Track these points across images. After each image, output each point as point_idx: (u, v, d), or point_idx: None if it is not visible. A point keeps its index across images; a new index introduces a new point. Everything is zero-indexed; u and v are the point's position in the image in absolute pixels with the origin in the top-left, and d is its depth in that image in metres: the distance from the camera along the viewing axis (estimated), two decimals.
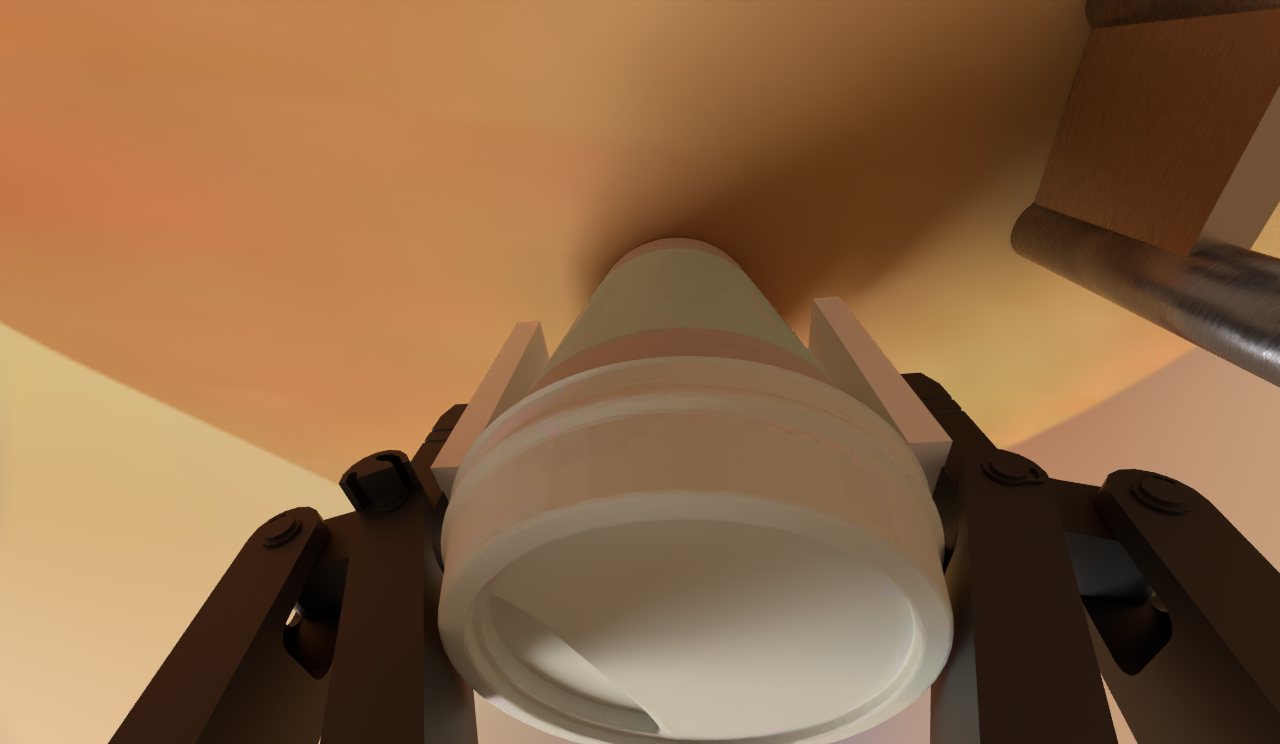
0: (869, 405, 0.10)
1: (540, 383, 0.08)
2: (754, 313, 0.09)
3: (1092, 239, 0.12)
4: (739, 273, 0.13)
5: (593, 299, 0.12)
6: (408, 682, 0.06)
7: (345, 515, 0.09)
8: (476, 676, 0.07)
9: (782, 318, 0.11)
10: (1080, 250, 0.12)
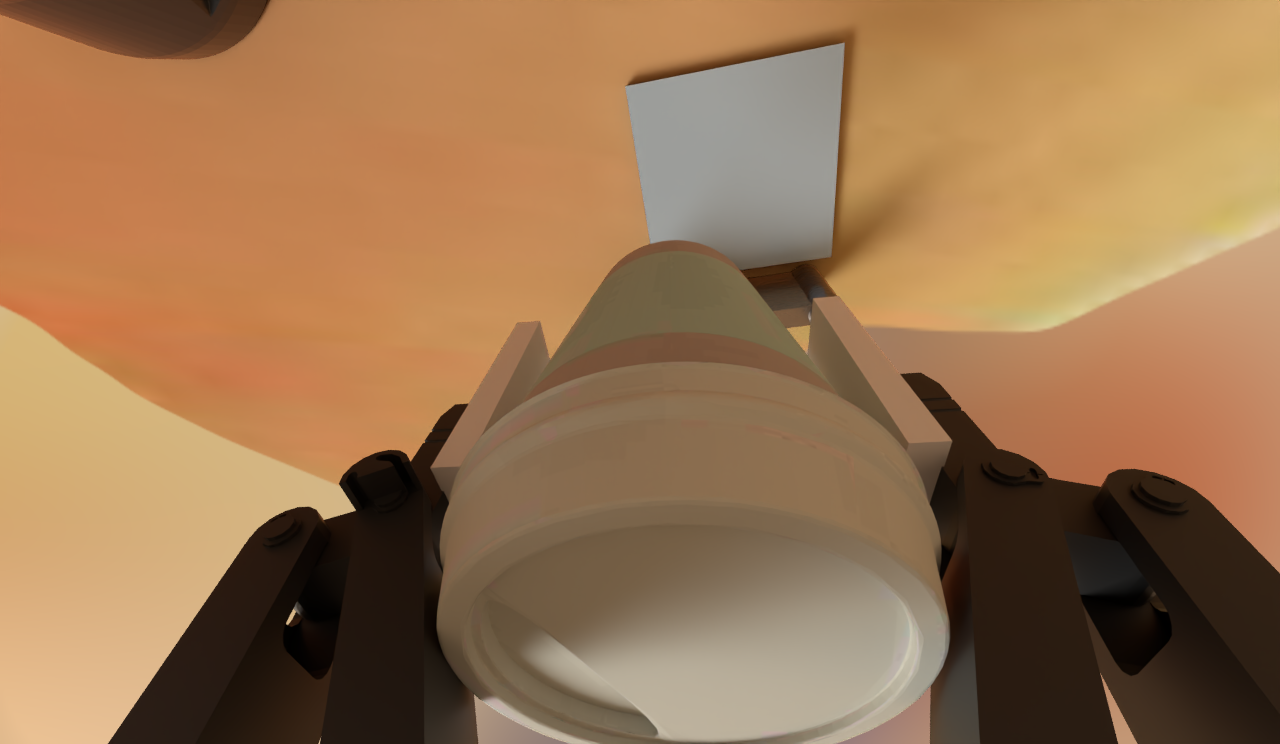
0: (869, 405, 0.10)
1: (539, 387, 0.08)
2: (752, 317, 0.09)
3: None
4: (738, 276, 0.13)
5: (592, 302, 0.12)
6: (408, 682, 0.06)
7: (345, 515, 0.09)
8: (474, 680, 0.07)
9: (780, 321, 0.11)
10: None
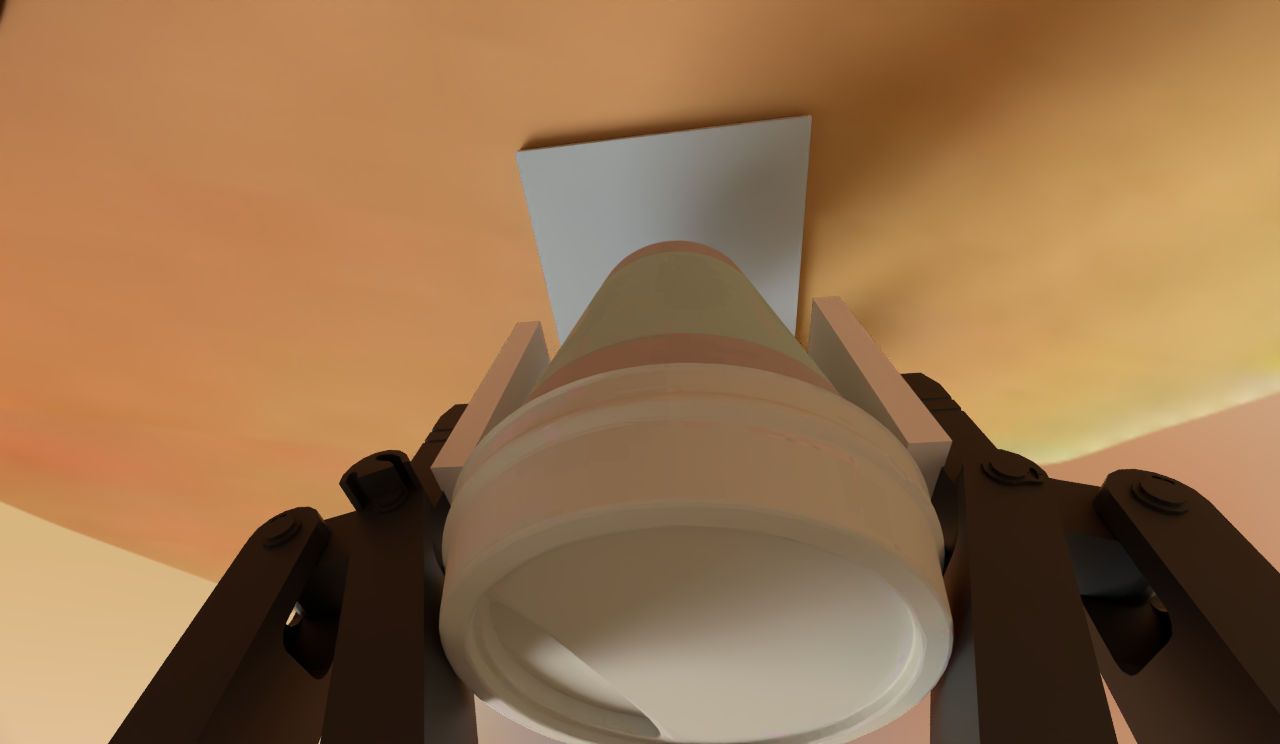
0: (869, 405, 0.10)
1: (541, 388, 0.08)
2: (754, 318, 0.09)
3: None
4: (739, 276, 0.13)
5: (593, 303, 0.12)
6: (408, 683, 0.06)
7: (345, 515, 0.09)
8: (477, 681, 0.07)
9: (782, 322, 0.11)
10: None
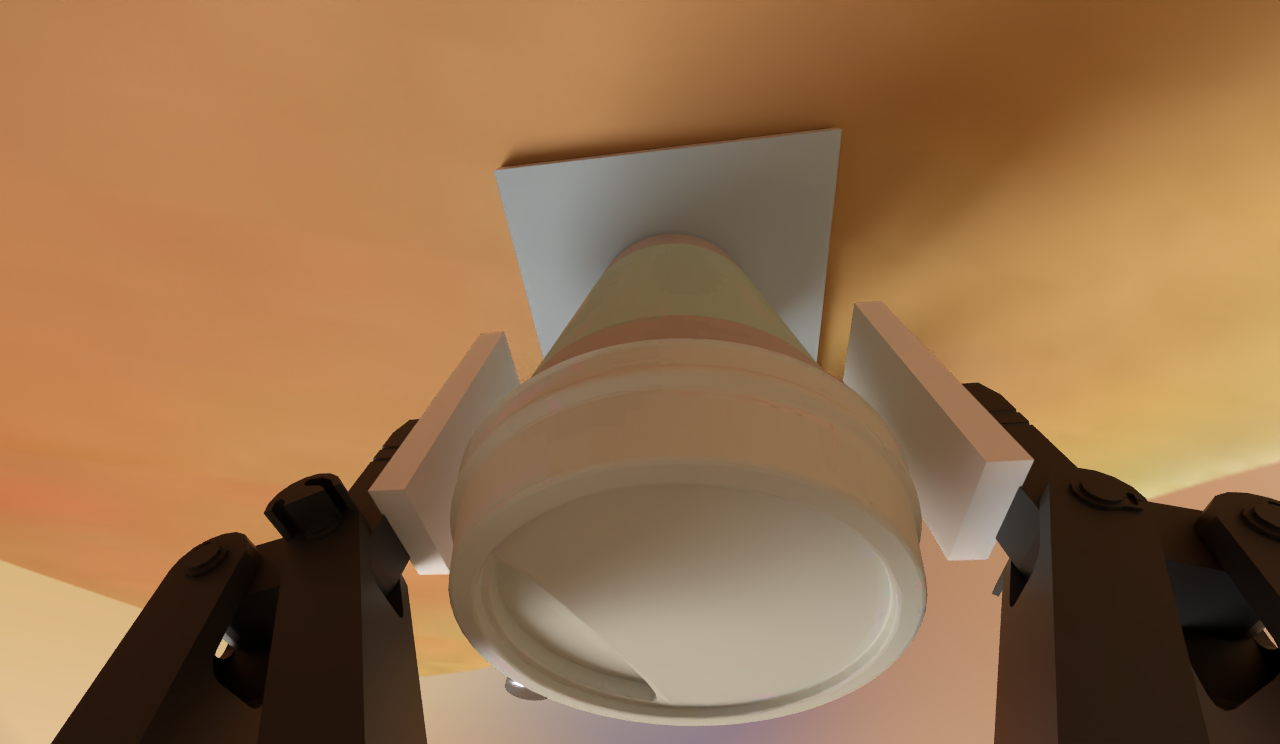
0: (930, 418, 0.10)
1: (543, 368, 0.09)
2: (746, 303, 0.10)
3: None
4: (733, 267, 0.13)
5: (592, 292, 0.13)
6: (347, 708, 0.06)
7: (280, 540, 0.09)
8: (483, 641, 0.08)
9: None
10: None
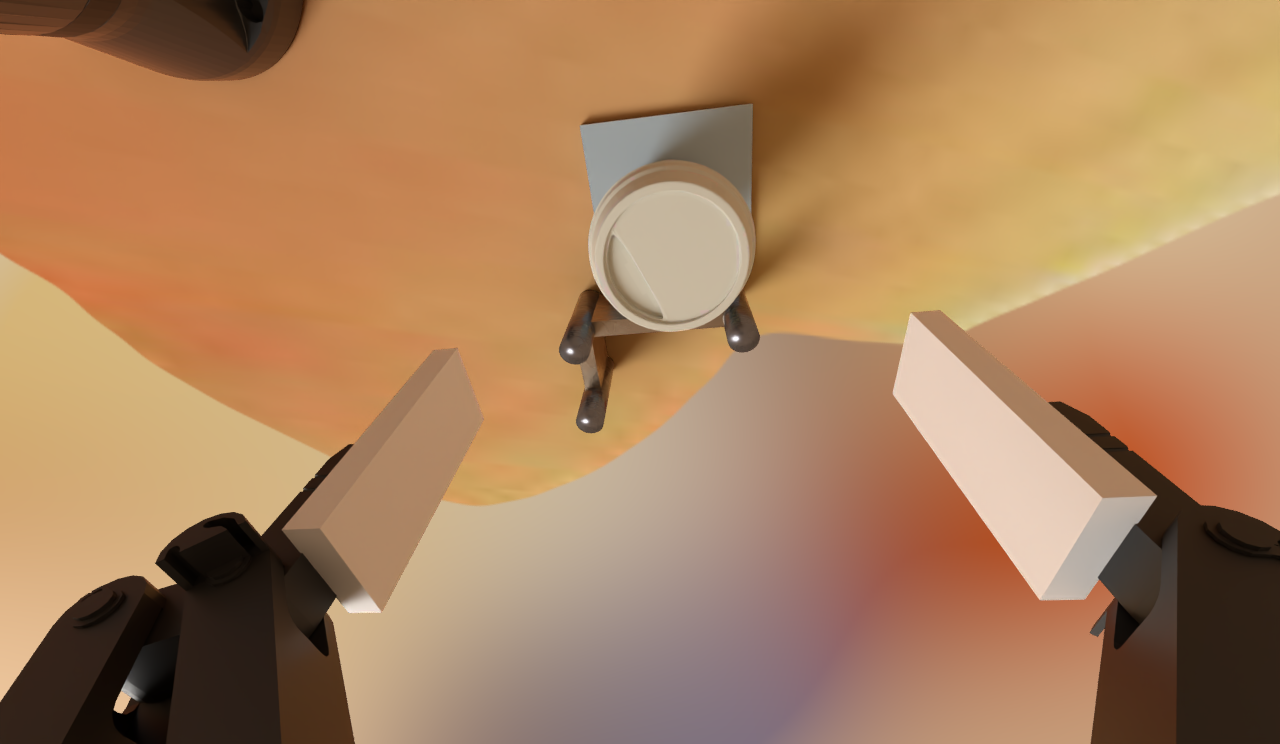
0: (1018, 443, 0.09)
1: None
2: None
3: None
4: None
5: None
6: None
7: None
8: (602, 275, 0.23)
9: None
10: None
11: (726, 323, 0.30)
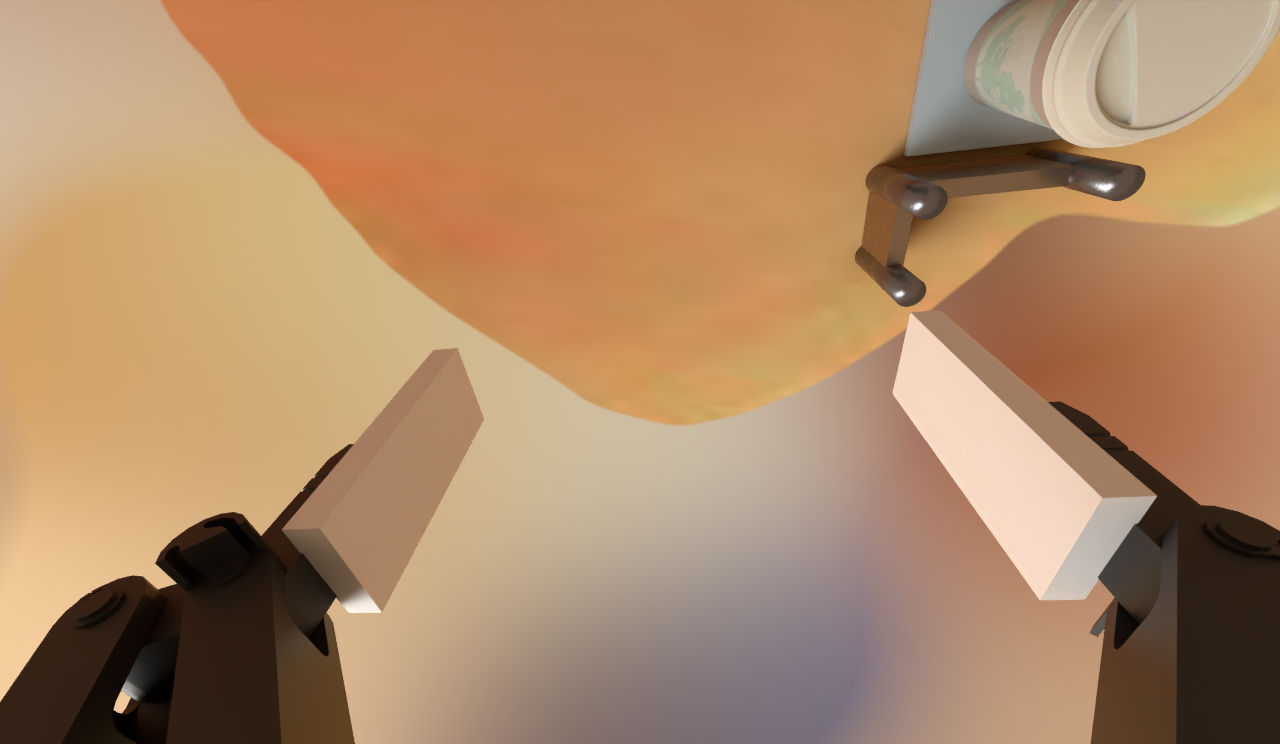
0: (1018, 443, 0.09)
1: None
2: None
3: (870, 261, 0.36)
4: None
5: None
6: None
7: None
8: (1096, 64, 0.21)
9: None
10: (868, 264, 0.36)
11: (1091, 173, 0.29)
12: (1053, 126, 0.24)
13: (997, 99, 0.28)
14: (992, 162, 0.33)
